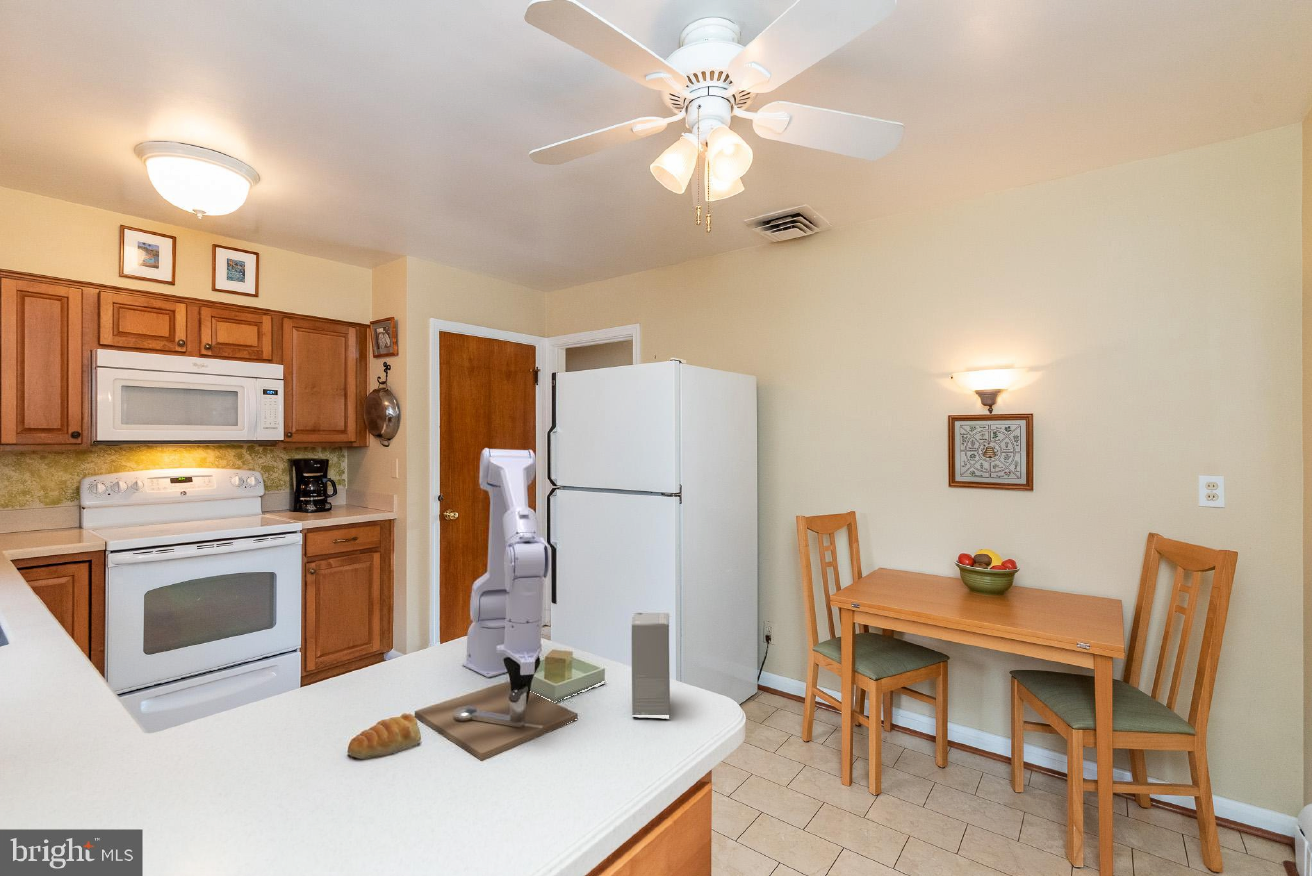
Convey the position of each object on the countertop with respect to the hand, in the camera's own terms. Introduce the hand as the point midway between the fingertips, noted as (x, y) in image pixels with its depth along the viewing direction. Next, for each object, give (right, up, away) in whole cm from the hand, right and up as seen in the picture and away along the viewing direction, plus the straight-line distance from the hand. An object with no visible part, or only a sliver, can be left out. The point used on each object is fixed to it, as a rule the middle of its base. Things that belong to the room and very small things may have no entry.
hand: (519, 703), depth 96 cm
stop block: (+3, -3, +16) cm, 17 cm away
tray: (+4, -4, +17) cm, 17 cm away
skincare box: (+21, -4, +7) cm, 22 cm away
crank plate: (-4, -3, +1) cm, 5 cm away
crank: (-4, -2, -2) cm, 5 cm away
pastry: (-17, -3, -8) cm, 20 cm away
